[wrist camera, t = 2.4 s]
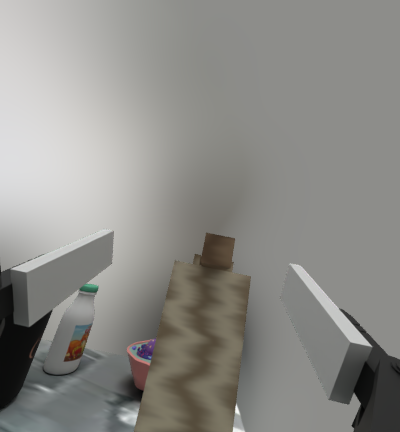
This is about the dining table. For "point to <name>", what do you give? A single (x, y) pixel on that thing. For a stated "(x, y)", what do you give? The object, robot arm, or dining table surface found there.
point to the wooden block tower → (196, 352)
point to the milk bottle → (72, 333)
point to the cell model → (140, 361)
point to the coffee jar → (17, 354)
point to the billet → (217, 252)
